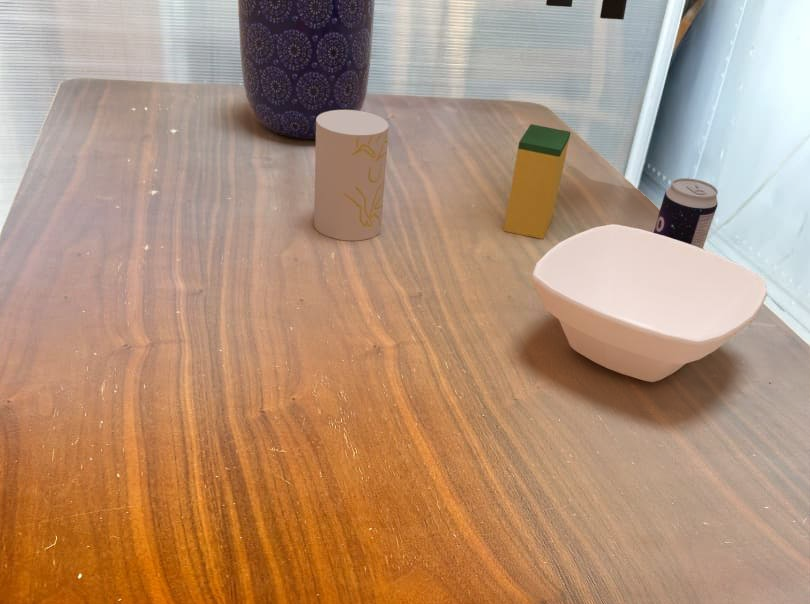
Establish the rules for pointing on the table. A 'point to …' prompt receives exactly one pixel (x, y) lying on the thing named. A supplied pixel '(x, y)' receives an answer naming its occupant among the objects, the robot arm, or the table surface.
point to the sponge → (536, 180)
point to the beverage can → (687, 211)
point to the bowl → (644, 299)
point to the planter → (304, 59)
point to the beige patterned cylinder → (349, 174)
